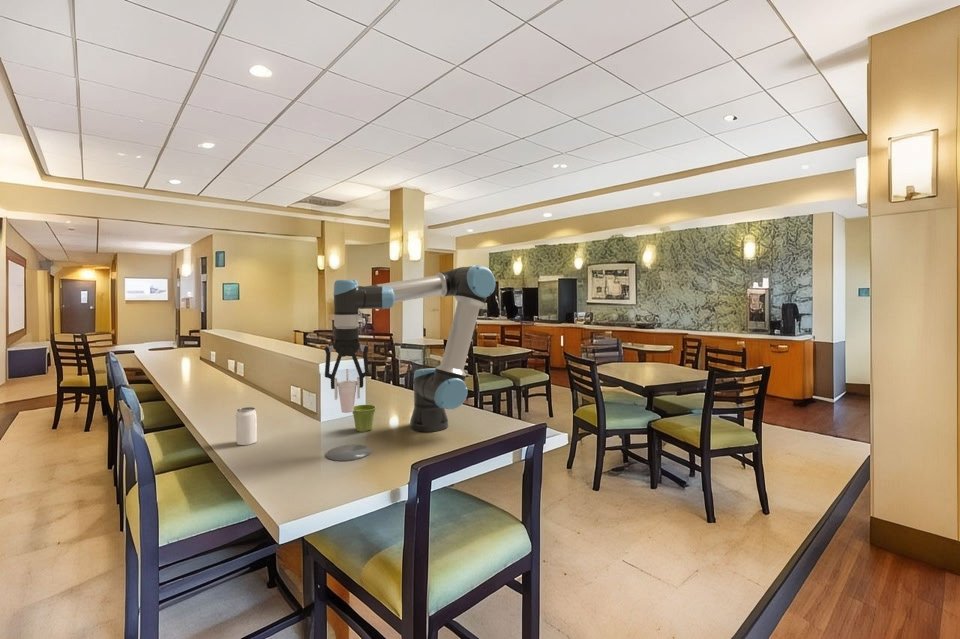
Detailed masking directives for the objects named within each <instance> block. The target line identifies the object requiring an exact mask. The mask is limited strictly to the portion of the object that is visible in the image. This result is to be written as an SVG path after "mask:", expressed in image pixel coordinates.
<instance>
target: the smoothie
mask: <svg viewBox="0 0 960 639" xmlns="http://www.w3.org/2000/svg"><path fill="white" fill-rule="evenodd" d="M345 373H346V380H340V381H337V390H338V396H339V403H340V407H341V408H340V409H341V413H344V414H346V413H347V414H348V413H349V414H350V413H352V412H353V411H354V406H355V402H356V400H355V399H356V394H357V391H356V390H357V380H351V379H350V380H349V368H346V372H345Z"/></svg>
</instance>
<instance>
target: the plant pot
mask: <svg viewBox="0 0 960 639" xmlns="http://www.w3.org/2000/svg"><path fill="white" fill-rule="evenodd" d="M376 409H377V406H376V405H374V404H358V405H354V411H353V412H351V413H352V415H353V420H354V426H355V430H356V431H358V432H360V433H363V432H367V431H372V429H373V425H374V424H373V423H374V416H375V412H376Z"/></svg>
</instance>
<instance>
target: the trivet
mask: <svg viewBox="0 0 960 639" xmlns="http://www.w3.org/2000/svg"><path fill="white" fill-rule="evenodd" d="M371 451H372V450H371V447H369V446H367V445H363V444H362V445H361V444H346V445H345V444H344V445H339V446H335V447H333V448H331V449H329V450H327V452H326V458H327V459H328V460H331V461H334V462H351V461H357V460H361V459H363V457H364V458H366V457H368V456H369V455H370V454H371Z"/></svg>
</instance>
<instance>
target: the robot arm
mask: <svg viewBox="0 0 960 639" xmlns="http://www.w3.org/2000/svg"><path fill="white" fill-rule="evenodd" d="M495 289H496V277H495V276H494V274H493V272H492V271H491V269H490V268H488V267H486V266H484V265H473V266H462V267H461V266H460V267H457V268H456V267H455V268H453V269H451V270H445V271H440V272H436V274H435V275H432V276H425V277H420V278H412V279H411V278H410V279H405V280H404V279H403V280H398V281H392V282H386V283H378V284H371V285H366V286H365V285H364V286H363V285H359V282H358V280H356V279H337V280H335V281H334V284H333V294H332V295H333V308H334V311H333V312H334V313H333V323H334V324H333V326H334V327H335V328H334V332H333V333H334V342H333V344H332V345H329V346H327V345H326V346H325V347H324V352H325V368H324V377H325V378H327V379H329V380H330V389H331V390H334V400H335V401H337V400H338V396H339V394H338V386H337V382H338V377H336V375H337V371H338V369H339V366H340V362H341V360H342V358H344V357H351V358H352V360H353V364H354V365H355V368H356V371H357V374H358V377H356V381H357V385H356V390H357V391H356V396H357V397H356V398H357V399H361V396H360V395H361V393H360V391H361V388H362V389H363V387H364V378H365V377H368V376H369V373H370V372H369V364H368V362H369V361H368V349H369V346H368V345H367V344H366V345H363V344H361V343H360V340H359V339H360V338H359V334H360V333H359V332H360V330H359V328H358V327H359V310H366V309H367V310H385V309H386V310H388V309H391V308H392V307H394V304H395V303H399V302H405V301H411V300H417V299H422V298H429V297H435V296H439V297H441V298H445V297H454V298H455V300H456V301H457V303H456V307H455V309H454V315H453V317H452V318H453V319H452V321H451V322H452V323H451V326H450V329H449V333H448V337H447V341H446V346H445V348H444V352H443V356H442V360H441V363H440V364H439V365H438V366H436V367H432V368H431V367H429V368H420V369H416V370H415V371H414V372H413V401H414V402H413V405H414V406H413V411H412V414H411V418H410V420H409V428H410V429H412V430H413V431H416V432H423V433H424V432H426V433H429V432H431V433H432V432H439V431H443V430H445V429H448V427H449V418H448V415H447V412H446V410H455V409H458V408H459V407H461V406H462V405H463V403H464V402H465V401H466V400H467V397H468V387H467V384H466V382H465V381H466V377H467V374H466V373H465V370H464V369H465V365H466V361H467V358H468V354H469V350H470V346H471V342H472V339H473V336H474V335H473V334H474V331H475V328H476V324H477V319H478V315H479V312H480V308H482V307H483V306H485V305H486V303H487V302H486V301H487V297H490V296H491V295H492V294H494V291H495ZM333 350H334V351H336V353H337V357H336V360H335V363H334V366H333V370H332V371H331V373H330V370H331V369H330V368H331V355H332V354H331V353H332V352H333ZM358 350H360V351H361V352H362V357H363V359H362V360H363V366H364V367H363V368H364V372H363V371H362V368H361V366H360V362H359V360H358V357H357V354H356V353H357V351H358Z"/></svg>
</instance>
